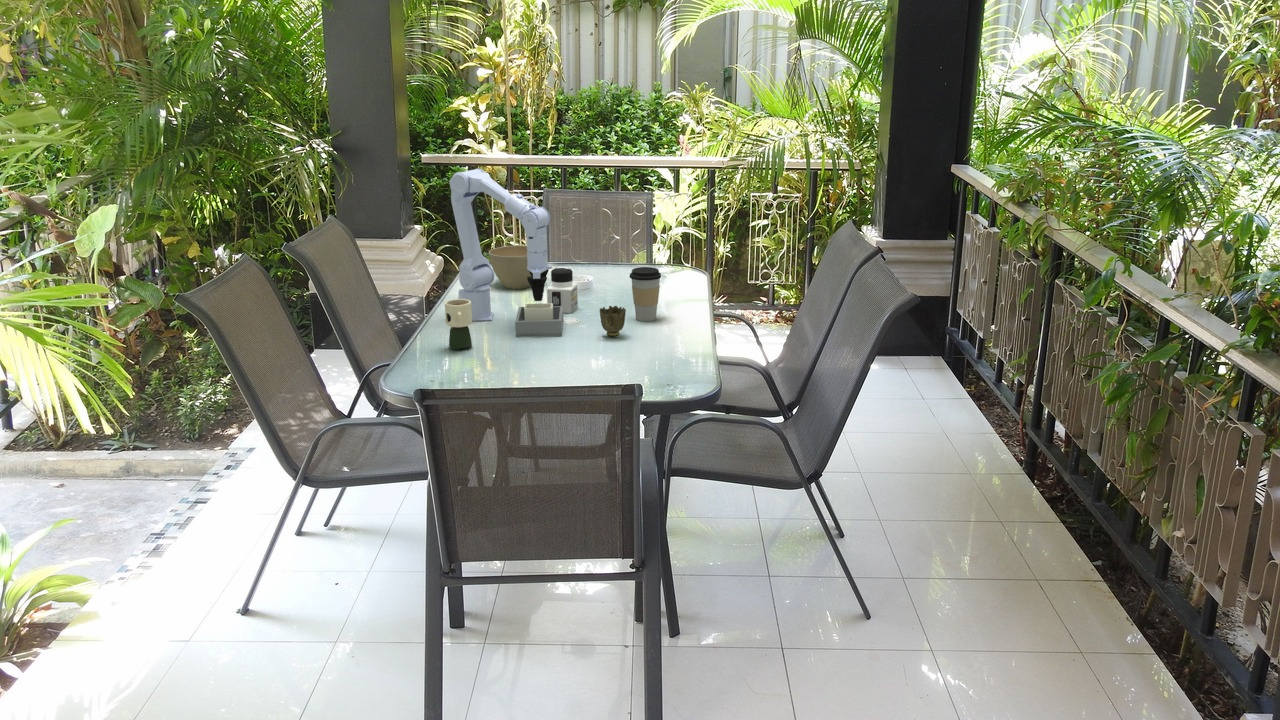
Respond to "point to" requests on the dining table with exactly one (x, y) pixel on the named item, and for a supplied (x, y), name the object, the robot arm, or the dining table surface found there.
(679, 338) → the dining table surface
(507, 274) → the flower pot
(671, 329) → the dining table surface
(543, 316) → the cream crate
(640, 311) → the coffee cup
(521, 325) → the grey crate
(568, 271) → the container
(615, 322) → the cup
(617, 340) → the dining table surface
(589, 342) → the dining table surface
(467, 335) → the character mug
